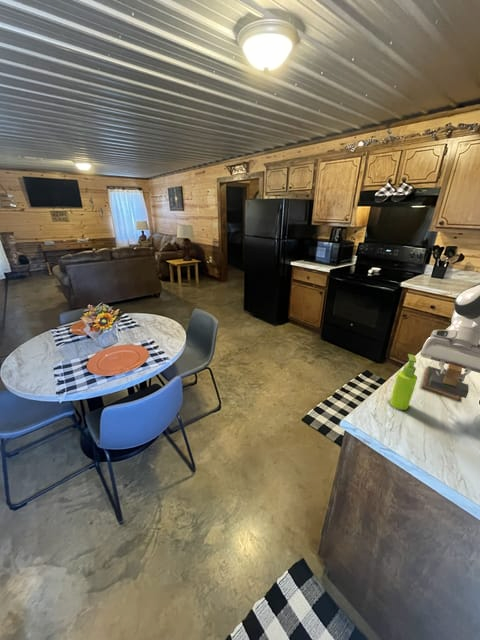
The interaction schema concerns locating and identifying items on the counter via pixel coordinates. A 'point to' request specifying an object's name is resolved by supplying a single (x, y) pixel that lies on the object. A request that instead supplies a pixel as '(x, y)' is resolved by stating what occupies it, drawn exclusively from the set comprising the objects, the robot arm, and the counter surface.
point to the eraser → (450, 381)
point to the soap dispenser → (404, 385)
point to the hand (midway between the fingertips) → (451, 377)
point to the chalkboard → (426, 386)
